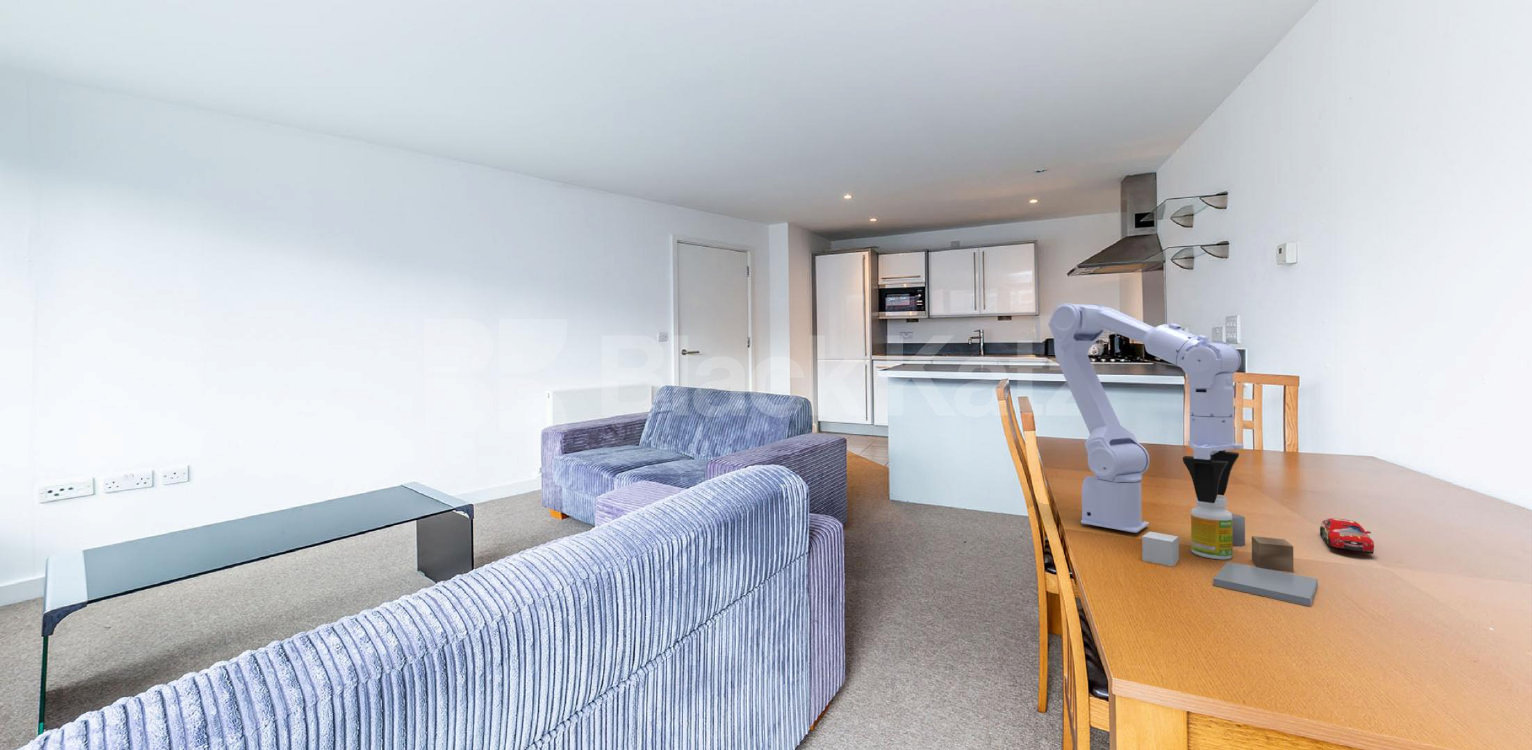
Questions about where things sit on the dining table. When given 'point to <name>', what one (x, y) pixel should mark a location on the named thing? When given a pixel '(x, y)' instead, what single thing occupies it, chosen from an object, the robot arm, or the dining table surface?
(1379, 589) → the dining table surface
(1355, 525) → the race car
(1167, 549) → the grey block
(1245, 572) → the slate tile
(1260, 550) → the walnut block
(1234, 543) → the slate grey block
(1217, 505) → the supplement bottle
